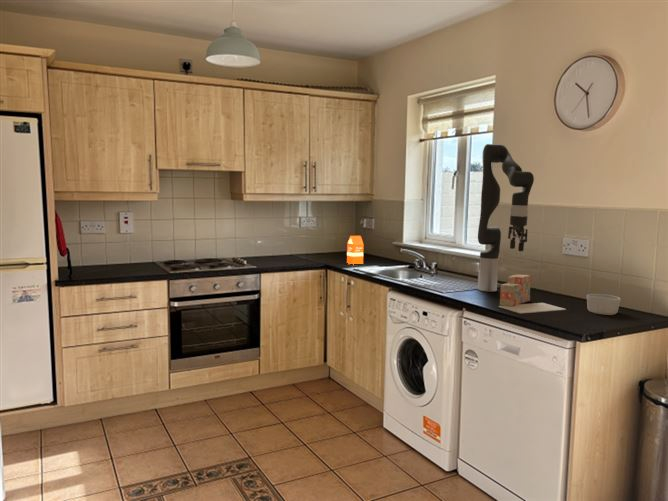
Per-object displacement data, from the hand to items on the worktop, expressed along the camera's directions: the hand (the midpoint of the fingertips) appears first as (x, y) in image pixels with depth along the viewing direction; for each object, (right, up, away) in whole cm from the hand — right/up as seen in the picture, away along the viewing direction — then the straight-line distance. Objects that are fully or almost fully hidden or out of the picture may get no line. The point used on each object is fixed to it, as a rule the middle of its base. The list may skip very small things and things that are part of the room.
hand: (516, 249), depth 247 cm
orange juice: (-70, -10, +125) cm, 143 cm away
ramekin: (+31, -27, -17) cm, 45 cm away
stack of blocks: (-1, -25, -2) cm, 25 cm away
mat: (+3, -26, -12) cm, 29 cm away
